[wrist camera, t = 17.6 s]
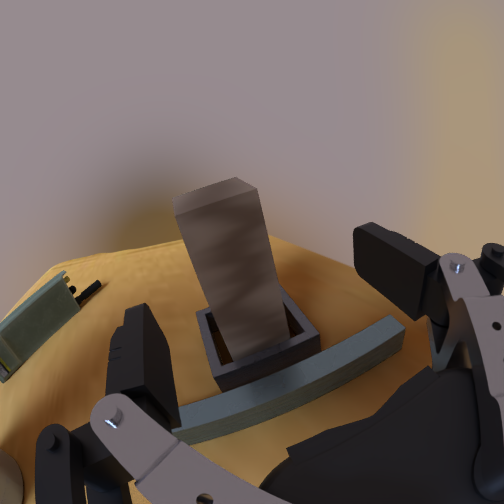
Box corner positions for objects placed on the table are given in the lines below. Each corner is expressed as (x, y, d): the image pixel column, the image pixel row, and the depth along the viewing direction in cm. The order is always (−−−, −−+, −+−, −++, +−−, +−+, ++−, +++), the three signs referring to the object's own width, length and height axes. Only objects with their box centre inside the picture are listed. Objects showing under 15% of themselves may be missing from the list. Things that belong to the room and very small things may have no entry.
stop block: (238, 371, 21) (174, 216, 15) (224, 335, 26) (172, 198, 19) (292, 349, 22) (256, 188, 16) (272, 316, 27) (235, 176, 20)
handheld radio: (0, 377, 24) (98, 287, 42) (4, 387, 22) (107, 290, 40) (-26, 345, 20) (81, 254, 39) (-24, 354, 19) (90, 255, 37)
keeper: (142, 455, 15) (124, 442, 14) (137, 352, 26) (126, 336, 25) (401, 348, 19) (405, 328, 18) (327, 280, 30) (325, 261, 28)
